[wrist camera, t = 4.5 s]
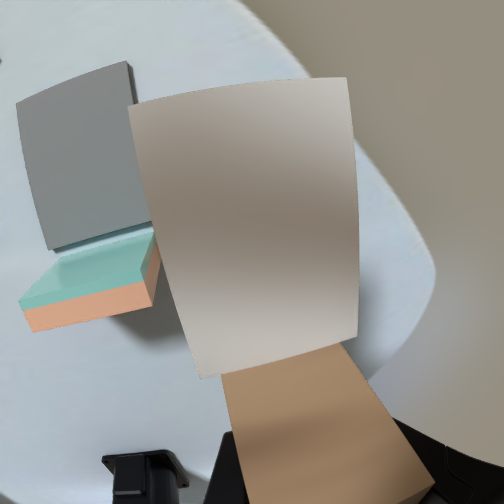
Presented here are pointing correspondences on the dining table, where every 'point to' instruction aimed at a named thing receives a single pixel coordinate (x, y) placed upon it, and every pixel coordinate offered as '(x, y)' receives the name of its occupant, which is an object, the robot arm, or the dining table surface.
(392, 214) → the dining table surface
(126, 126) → the plate
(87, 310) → the tile
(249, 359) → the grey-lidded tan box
